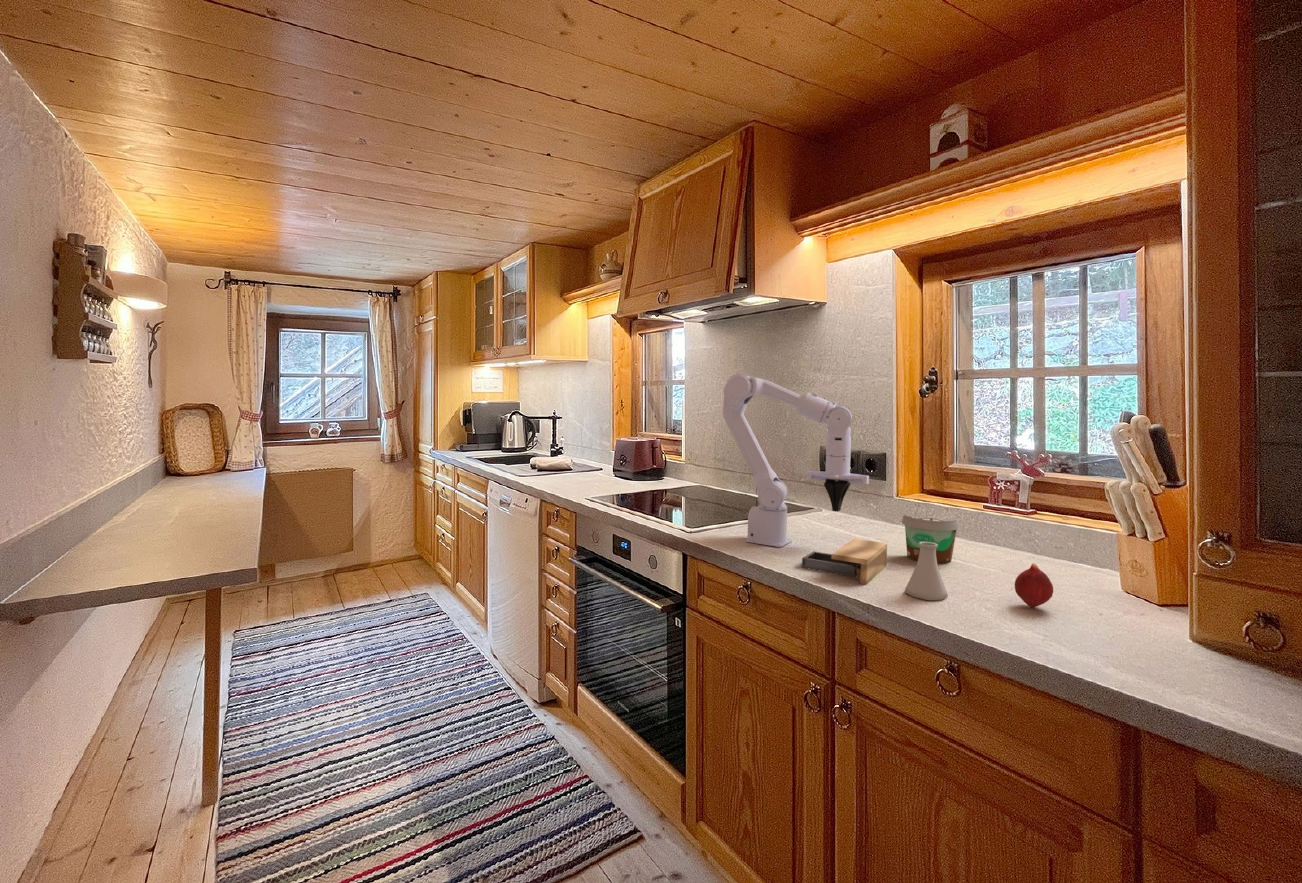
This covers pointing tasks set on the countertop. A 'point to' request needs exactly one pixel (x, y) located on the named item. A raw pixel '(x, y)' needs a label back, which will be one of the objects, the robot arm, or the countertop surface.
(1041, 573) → the onion
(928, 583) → the flask
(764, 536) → the robot arm
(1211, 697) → the countertop surface
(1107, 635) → the countertop surface
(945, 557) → the food container
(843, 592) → the countertop surface
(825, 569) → the dark grey drawer
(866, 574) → the pine shelf
